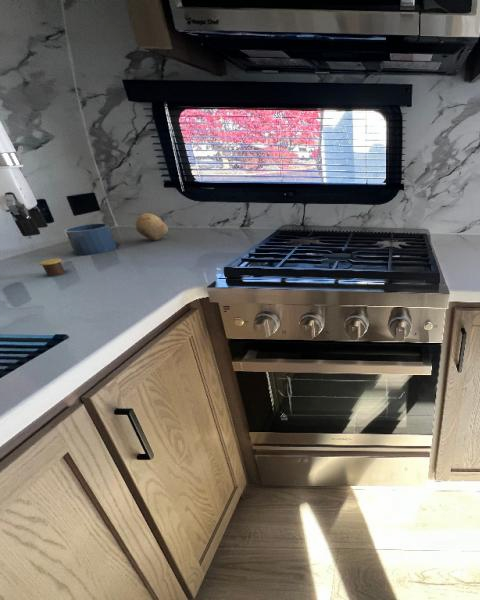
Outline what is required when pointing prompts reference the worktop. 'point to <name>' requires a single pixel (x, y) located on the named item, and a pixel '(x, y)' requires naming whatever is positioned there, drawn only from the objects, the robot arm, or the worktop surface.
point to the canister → (91, 239)
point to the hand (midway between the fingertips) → (36, 231)
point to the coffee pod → (52, 267)
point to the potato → (151, 226)
